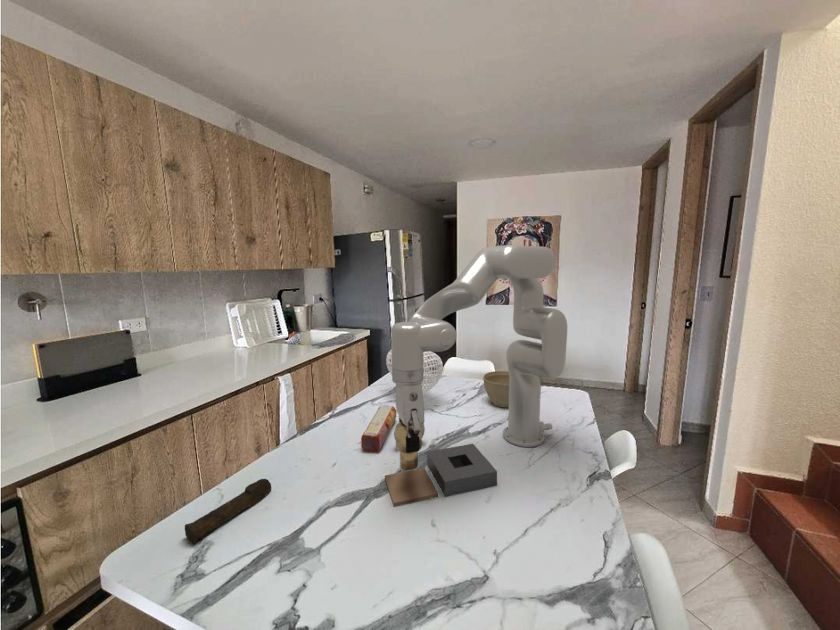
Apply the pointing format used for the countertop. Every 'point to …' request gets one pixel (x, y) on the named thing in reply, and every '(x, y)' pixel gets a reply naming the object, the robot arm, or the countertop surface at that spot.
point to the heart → (438, 370)
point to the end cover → (406, 459)
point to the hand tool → (227, 510)
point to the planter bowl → (497, 387)
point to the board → (410, 487)
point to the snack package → (378, 429)
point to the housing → (461, 469)
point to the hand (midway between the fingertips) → (408, 443)
